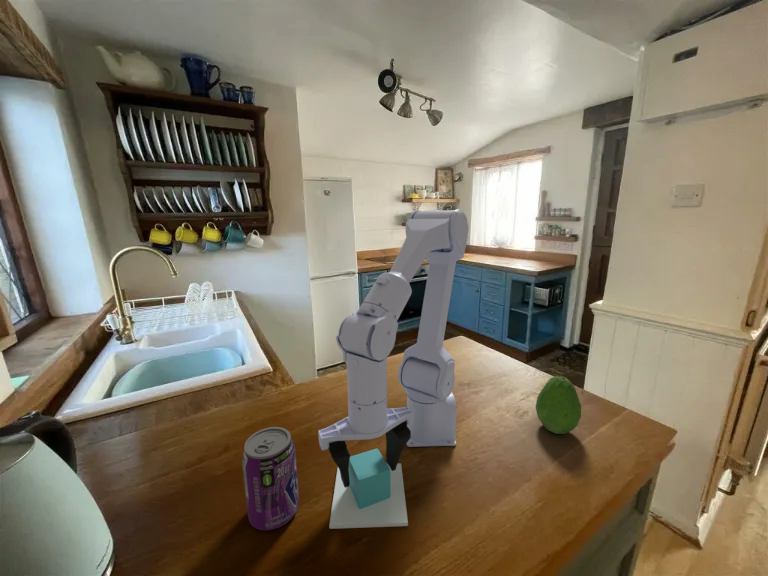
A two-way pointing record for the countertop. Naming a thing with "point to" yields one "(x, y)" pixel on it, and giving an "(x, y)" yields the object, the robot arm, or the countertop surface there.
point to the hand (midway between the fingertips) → (368, 473)
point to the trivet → (371, 516)
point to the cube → (369, 478)
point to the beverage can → (270, 478)
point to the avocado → (558, 406)
